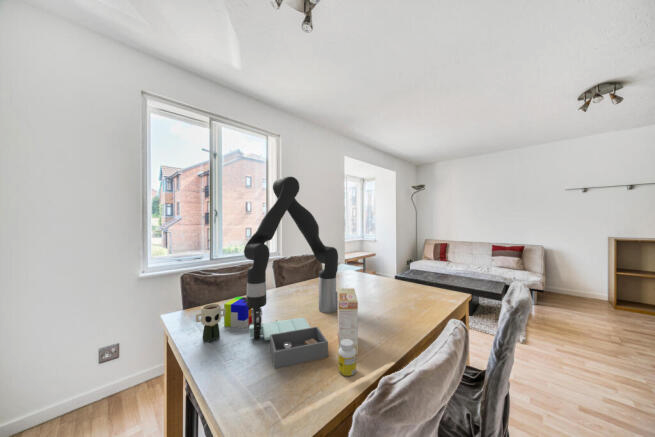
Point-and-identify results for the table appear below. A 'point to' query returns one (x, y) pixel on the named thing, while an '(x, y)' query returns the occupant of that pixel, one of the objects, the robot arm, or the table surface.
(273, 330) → the lid
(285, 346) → the steel bushing
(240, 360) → the table surface
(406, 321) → the table surface
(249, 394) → the table surface
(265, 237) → the robot arm
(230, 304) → the puzzle toy
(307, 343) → the walnut block
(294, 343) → the tub
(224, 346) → the table surface
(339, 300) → the coffeecake box
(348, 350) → the supplement bottle
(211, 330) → the character mug
